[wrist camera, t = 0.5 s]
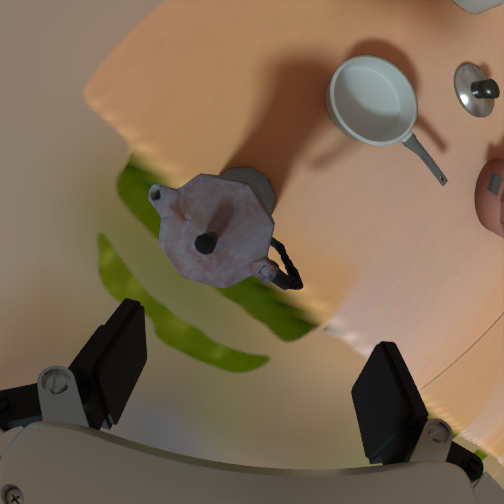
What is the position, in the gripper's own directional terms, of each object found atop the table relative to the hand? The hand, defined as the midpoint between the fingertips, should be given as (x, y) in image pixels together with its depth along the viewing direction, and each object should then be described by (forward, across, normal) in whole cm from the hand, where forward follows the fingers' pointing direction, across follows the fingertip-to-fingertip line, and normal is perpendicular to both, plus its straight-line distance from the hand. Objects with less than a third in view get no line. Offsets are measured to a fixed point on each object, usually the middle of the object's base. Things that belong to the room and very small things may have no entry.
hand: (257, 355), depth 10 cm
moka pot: (+30, +3, +1) cm, 30 cm away
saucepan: (+30, -14, -14) cm, 36 cm away
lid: (+30, -29, -26) cm, 49 cm away
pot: (+30, -40, -11) cm, 51 cm away
